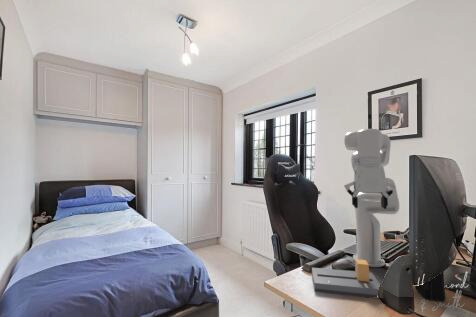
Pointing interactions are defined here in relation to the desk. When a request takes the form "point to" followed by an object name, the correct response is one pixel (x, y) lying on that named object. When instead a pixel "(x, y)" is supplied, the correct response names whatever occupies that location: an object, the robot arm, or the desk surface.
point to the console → (343, 283)
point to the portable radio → (433, 288)
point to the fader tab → (362, 270)
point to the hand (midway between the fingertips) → (369, 207)
